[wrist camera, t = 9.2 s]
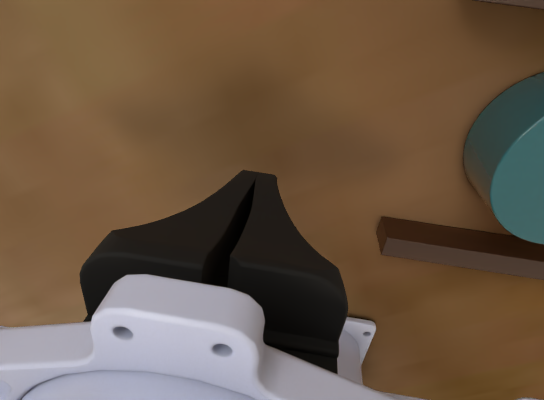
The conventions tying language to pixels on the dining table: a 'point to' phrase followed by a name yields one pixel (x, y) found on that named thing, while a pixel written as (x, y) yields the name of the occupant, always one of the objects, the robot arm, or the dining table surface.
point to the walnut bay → (464, 234)
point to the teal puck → (511, 158)
